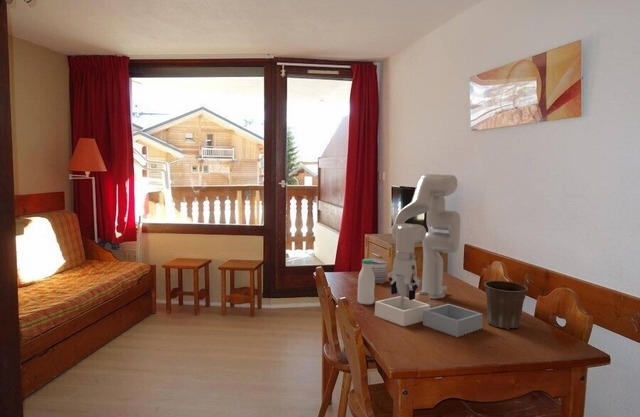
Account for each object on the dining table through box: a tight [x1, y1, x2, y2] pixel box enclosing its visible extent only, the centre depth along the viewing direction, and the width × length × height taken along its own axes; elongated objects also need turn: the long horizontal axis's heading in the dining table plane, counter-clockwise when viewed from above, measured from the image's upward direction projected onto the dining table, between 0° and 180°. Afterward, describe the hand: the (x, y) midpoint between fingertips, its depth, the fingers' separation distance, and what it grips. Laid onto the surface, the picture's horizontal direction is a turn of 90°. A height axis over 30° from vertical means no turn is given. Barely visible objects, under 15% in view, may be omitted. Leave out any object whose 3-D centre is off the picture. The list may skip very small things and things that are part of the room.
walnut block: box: [426, 301, 439, 308], centre depth 192 cm, size 5×5×5 cm
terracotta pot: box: [413, 291, 431, 303], centre depth 200 cm, size 7×7×7 cm
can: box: [370, 258, 387, 284], centre depth 249 cm, size 11×11×12 cm
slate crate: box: [422, 303, 484, 338], centre depth 178 cm, size 16×16×6 cm
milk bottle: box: [357, 258, 376, 305], centre depth 208 cm, size 8×8×20 cm
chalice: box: [396, 275, 410, 310], centre depth 188 cm, size 7×7×18 cm
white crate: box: [374, 295, 430, 327], centre depth 188 cm, size 16×16×6 cm
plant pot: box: [483, 280, 529, 329], centre depth 182 cm, size 16×16×16 cm
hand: (402, 296), depth 188 cm, fingers open, 9 cm apart
